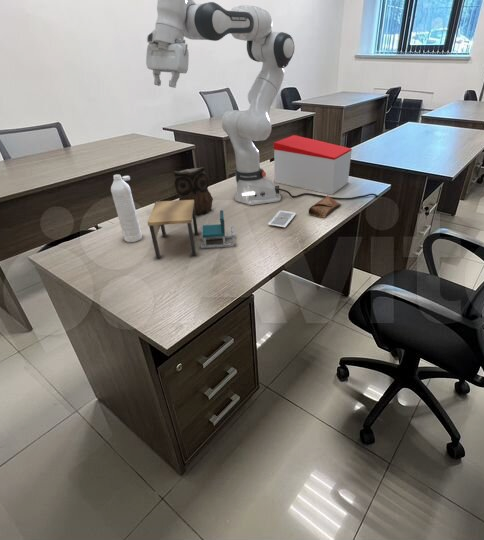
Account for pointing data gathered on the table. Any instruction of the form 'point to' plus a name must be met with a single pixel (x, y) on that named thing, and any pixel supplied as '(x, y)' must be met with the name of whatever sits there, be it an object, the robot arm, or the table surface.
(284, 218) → the deck of cards
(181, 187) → the owl
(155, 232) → the desk
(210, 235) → the chair
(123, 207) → the water bottle
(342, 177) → the red-lidded white box
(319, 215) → the sunglasses case
